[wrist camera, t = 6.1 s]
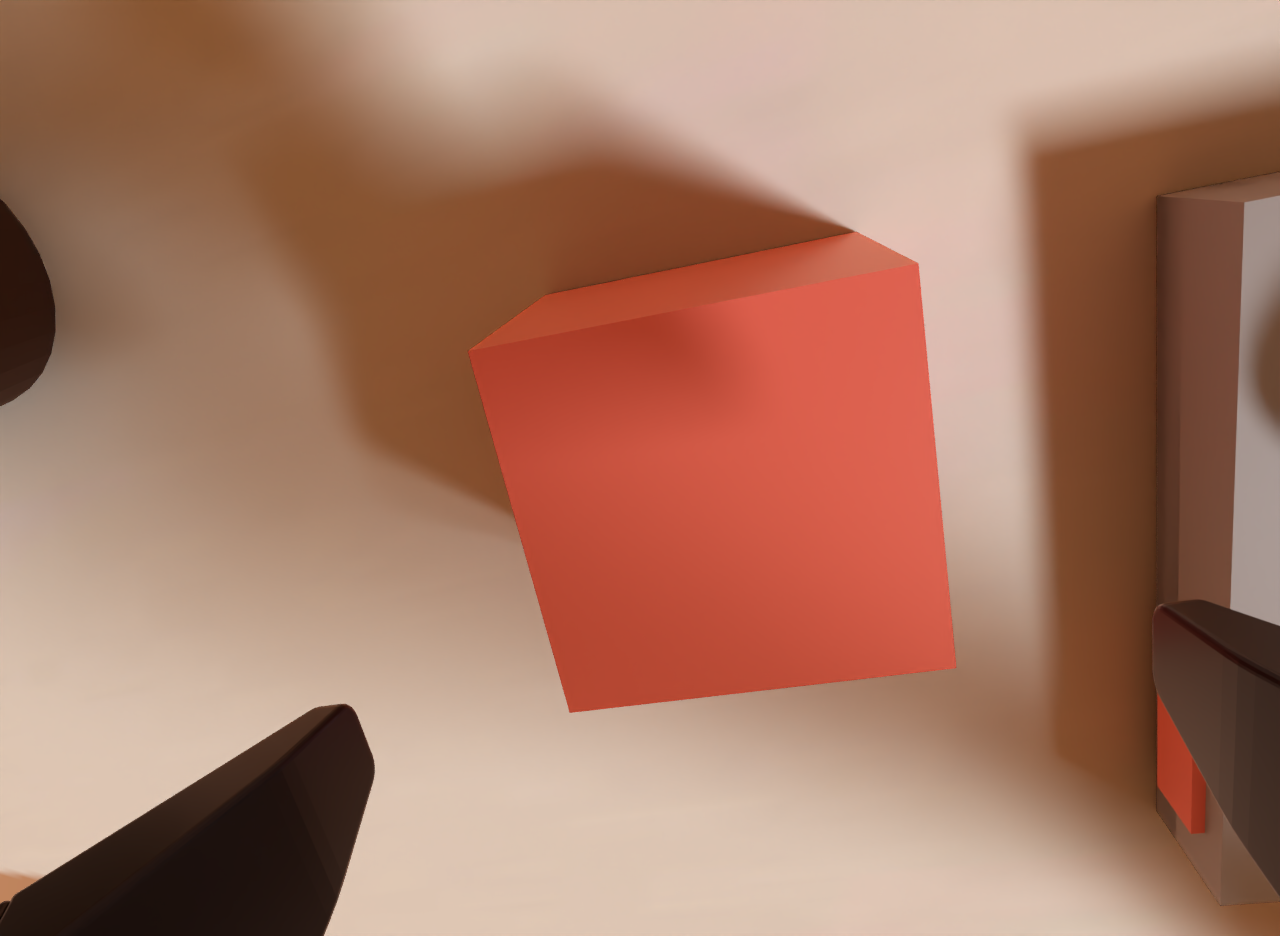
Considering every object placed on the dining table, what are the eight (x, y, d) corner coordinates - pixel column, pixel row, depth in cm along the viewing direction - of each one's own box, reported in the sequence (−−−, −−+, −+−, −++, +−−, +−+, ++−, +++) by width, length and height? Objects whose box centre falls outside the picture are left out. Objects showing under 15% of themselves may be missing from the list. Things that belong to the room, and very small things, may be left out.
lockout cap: (890, 524, 20) (955, 668, 14) (611, 565, 21) (569, 712, 15) (856, 231, 17) (918, 263, 12) (545, 294, 19) (468, 351, 13)
